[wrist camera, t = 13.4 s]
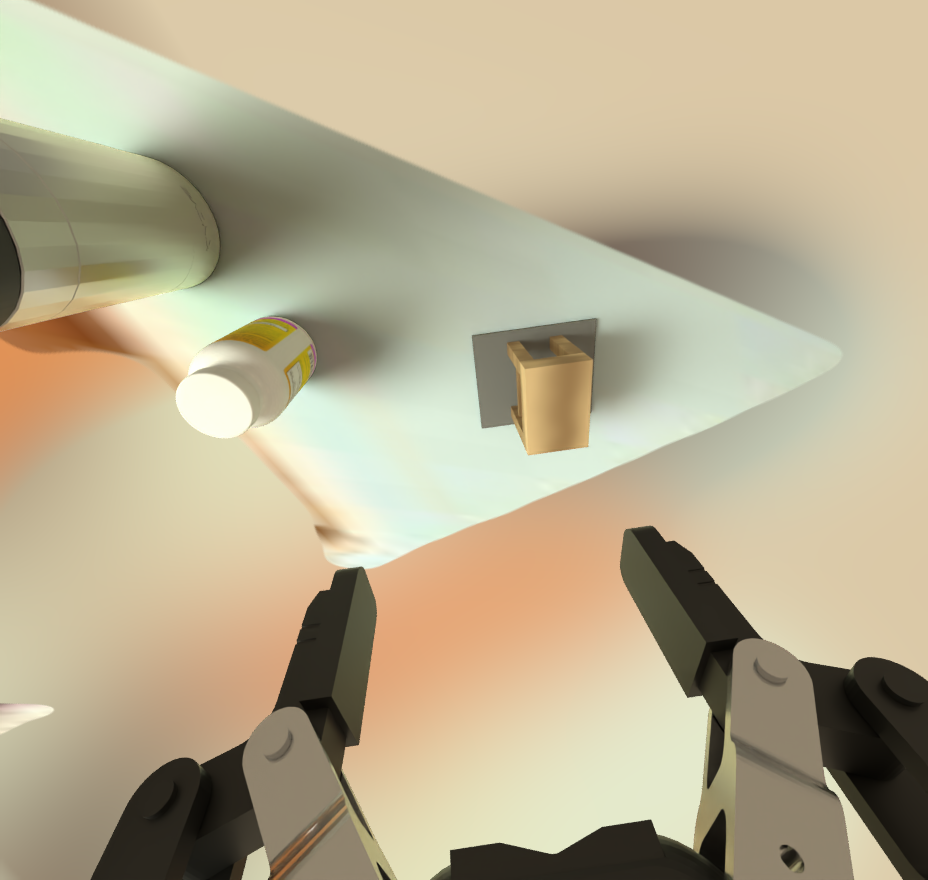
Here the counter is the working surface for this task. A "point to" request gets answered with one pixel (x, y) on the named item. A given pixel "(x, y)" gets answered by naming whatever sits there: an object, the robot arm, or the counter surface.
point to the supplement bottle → (246, 377)
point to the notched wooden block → (552, 397)
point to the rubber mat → (501, 373)
